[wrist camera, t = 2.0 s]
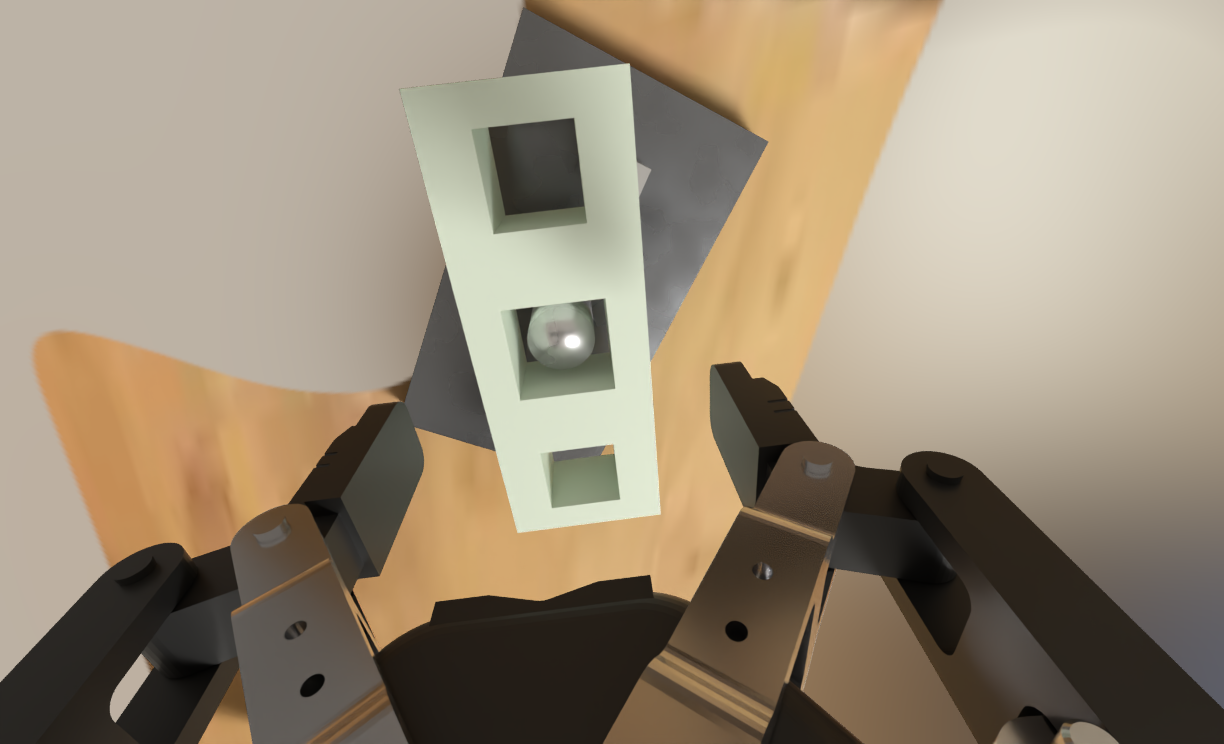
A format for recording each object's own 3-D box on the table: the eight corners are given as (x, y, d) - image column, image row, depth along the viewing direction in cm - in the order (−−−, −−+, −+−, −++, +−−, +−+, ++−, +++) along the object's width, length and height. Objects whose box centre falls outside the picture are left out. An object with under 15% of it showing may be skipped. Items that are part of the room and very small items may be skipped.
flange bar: (650, 468, 23) (660, 514, 20) (523, 484, 23) (517, 532, 20) (619, 72, 15) (630, 63, 13) (428, 92, 15) (399, 89, 12)
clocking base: (586, 461, 27) (590, 544, 22) (407, 405, 25) (363, 484, 20) (755, 140, 20) (821, 149, 15) (526, 15, 18) (508, -27, 12)
